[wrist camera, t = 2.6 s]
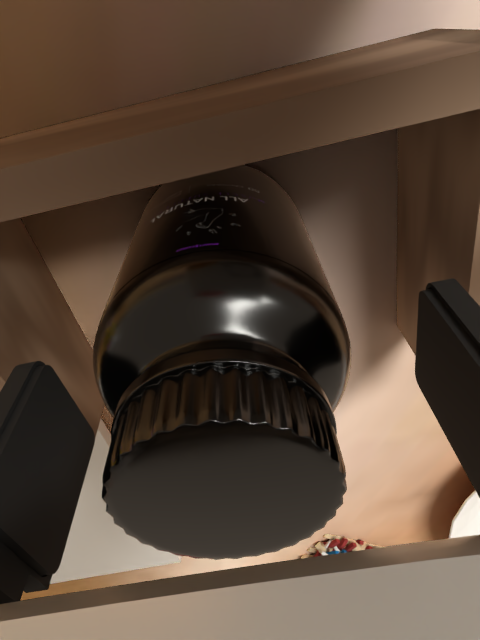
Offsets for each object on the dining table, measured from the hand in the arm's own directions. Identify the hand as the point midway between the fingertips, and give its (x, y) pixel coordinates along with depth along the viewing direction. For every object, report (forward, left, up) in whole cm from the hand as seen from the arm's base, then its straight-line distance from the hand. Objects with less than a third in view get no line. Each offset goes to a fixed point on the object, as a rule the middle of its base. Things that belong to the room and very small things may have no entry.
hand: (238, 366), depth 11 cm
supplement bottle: (0, 0, -9) cm, 9 cm away
